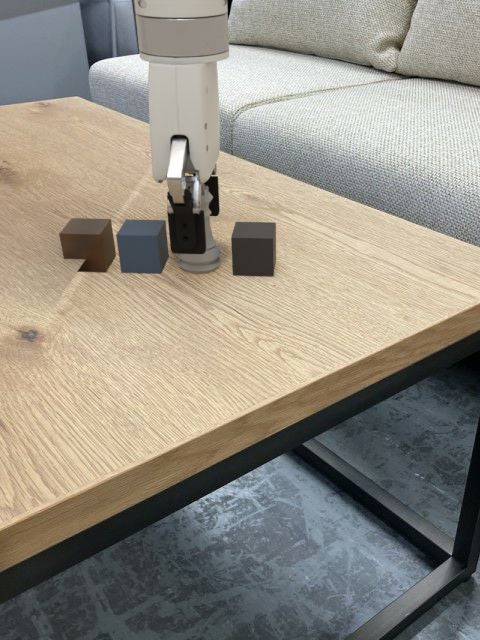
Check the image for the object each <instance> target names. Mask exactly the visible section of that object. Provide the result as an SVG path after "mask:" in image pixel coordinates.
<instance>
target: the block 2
mask: <svg viewBox="0 0 480 640" xmlns="http://www.w3.org/2000/svg"><path fill="white" fill-rule="evenodd" d="M115 237H116V245H117V251H118V258H119V266H120V272H121V273H122V274H153V275H154V274H155V275H156V274H157V275H161V274H163V271H164V269H165V266H166V265H167V262H168V260H169V258H170V252H169V242H168V232H167V222H166V220H165V219H134V218H133V219H131V218H130V219H128V218H126V219H125V220H124V222H123V223H122V225H121V226H120V228H119V230H118V231H117V232H116V234H115Z"/></svg>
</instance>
